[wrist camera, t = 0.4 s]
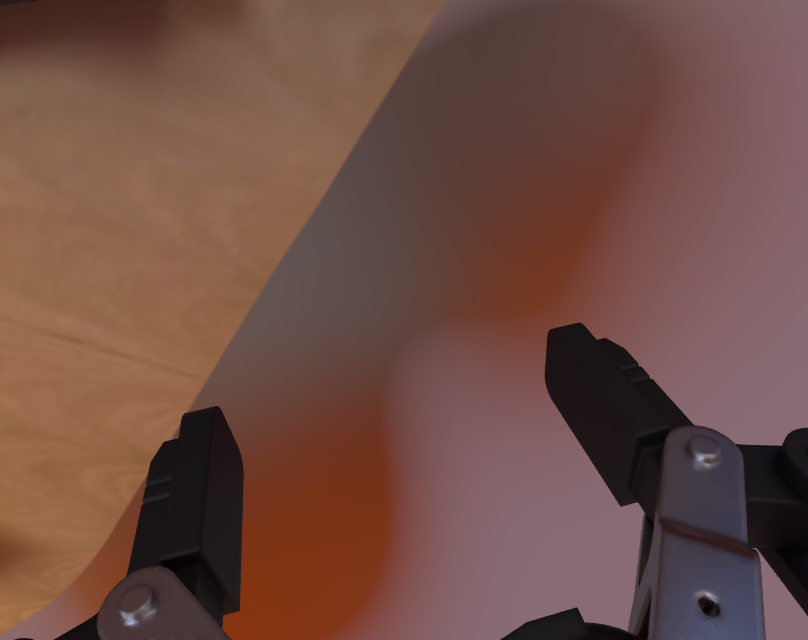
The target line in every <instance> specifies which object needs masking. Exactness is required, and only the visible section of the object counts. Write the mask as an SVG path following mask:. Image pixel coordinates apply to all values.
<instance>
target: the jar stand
mask: <svg viewBox="0 0 808 640" xmlns="http://www.w3.org/2000/svg"><path fill="white" fill-rule="evenodd" d="M28 1H35V0H0V5H6V4H13V3H21V2H28Z"/></svg>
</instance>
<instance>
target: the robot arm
mask: <svg viewBox="0 0 808 640" xmlns="http://www.w3.org/2000/svg"><path fill="white" fill-rule="evenodd" d="M545 382H546V387H547V390H548V393H549V395H550V397H551V399H552V401H553V402H554V404H555V405H556V407H557V409H558V410H559V412H560V413H561V415H562V416H563V418H564V419H565V421H566V423H567V424H568V426H569V427H570V429H571V430H572V432H573V433H574V435H575V437H576V438H577V439H578V441H579V443H580V444H581V446H582V447H583V449H584V450H585V452H586V454H587V455H588V456H589V458H590V460H591V461H592V463H593V464H594V466H595V468H596V469H597V471H598V472H599V474H600V475H601V477H602V478H603V480H604V482H605V483H606V484H607V486H608V488H609V489H610V491H611V492H612V494H613V495H614V497H615V499H616V500H617V502H618V503H619V505H620V506H621V507H622V506H625V505H629V504H632V503H636V502H638V503H639V505H640V506H641V507H642V509H643V511H644V512H645V513H644V517H643V522H642V531H641V540H640V549H639V558H638V567H637V576H636V585H635V593H634V601H633V605H632V610H631V615H630V620H629V626H628V632H627V631H625V630H622V629H620V628H616V627H612V626H608V625H604V624H597V623H585V622H584V620H583V618H582V616H581V614H580V612H579V610H578V608H573V609H570V610H566V611H563V612H559V613H556V614H553V615H550V616H546V617H543V618H539V619H536V620H533V621H529V622H526V623H525V624H523V625H522V626H521V627H519V628H517V629H516V630H514V631H513V632H511V633H510V634H508V635H507V636H505V637H504V638H502V639H501V640H766V634H765V619H764V605H763V590H762V576H761V564H760V558H759V554H758V552H757V551H756V550H755V549H752V548H757V549H758V550H759V552H760V553H761V554H762V556H763V557H764V558H765V560H766V561H767V562H768V564H769V565H770V566H771V568H772V569H773V570H774V572H775V573H776V574H777V576H778V577H779V578H780V579H781V581H782V582H783V584H784V585H785V586H786V588H787V589H788V590H789V592H790V593H791V594H792V596H793V597H794V598H795V600H796V601H797V602H798V604H799V605H800V606H801V608H802V609H803V610H804V612H805V613H806V614H807V616H808V428H800V429H797V430H794V431H792V432H791V433H789V434H788V435H787V437H786V438H785V441H784V442H783V444H782V446H767V445H740V444H734V442H733V441H731V440H730V439H729V438H728V437H726V436H725V435H723V434H722V433H720V432H718V431H716V430H713V429H710V428H707V427H703V426H697V425H694V424H693V423H692V422H691V421H690V420H689V419H688V418H687V417H686V416H685V415H684V414H683V412H682V411H681V410H680V409H679V408H678V407H677V406H676V405H675V403H674V402H673V401H672V400H671V399H670V398H669V397H668V396H667V395H666V394H665V392H664V391H663V390H662V389H661V388H660V387H659V386H658V385H657V384H656V382H655V381H654V380H653V379H650V378H649V375H648V374H647V373H646V371H645V370H644V369H643V368H642V367H639V365H638V363H637V361H636V360H635V359H634V358H633V357H632V356H631V355H630V354H629V353H628V352H627V350H626V349H624V348H623V347H621V346H619V345H617V344H616V343H614V342H612V341H610V340H608V339H607V338H603V339H599V340H596V338H595V337H594V336H593V335H592V334H591V333H590V332H589V330H588V329H587V328H586V327H585V326H584V325H583V324H582V323H575V324H571V325H567V326H562V327H558V328H554V329H550V330H549V332H548V336H547V349H546V363H545ZM243 479H244V472H243V462H242V457H241V454H240V450H239V448H238V445H237V443H236V441H235V439H234V437H233V434H232V432H231V430H230V428H229V426H228V424H227V421H226V419H225V417H224V415H223V412H222V410H221V409H220V408H219V407H218V406H215V407H210V408H206V409H202V410H198V411H193V412H189V413H185V414H184V415H183V416H182V420H181V426H180V432H179V438H178V439H174V440H170V441H165V442H164V443H163V444H162V446H161V447H160V449H159V450H158V452H157V453H156V455H155V456H154V458H153V459H152V461H151V463H150V468H149V472H148V477H147V482H146V484H147V487H146V488H145V492H144V497H143V505H142V506H141V511H140V515H139V520H138V525H137V530H136V534H135V540H134V545H133V549H132V554H131V558H130V563H129V568H128V571H127V575H126V577H125V578H124V579H123V580H121V581H120V582H119V583H118V584H117V585H116V586H115V587H114V588H113V589H112V591H110V593H109V594H108V595H107V597H106V598H105V600H104V602H103V604H102V606H101V608H100V611H99V612H98V613H97V614H96V615H95V616H93V617H92V618H90V619H89V620H87V621H85V622H84V623H82V624H80V625H78V626H77V627H75V628H73V629H72V630H70V631H68V632H66V633H65V634H63V635H61V636H60V637H58V638H56V639H54V640H231V638H230V637H229V636H228V635H227V634H226V633H225V632H224V630H223V629H222V625H223V615H226V614H230V613H234V612H237V611H240V585H241V549H242V515H243ZM15 640H33V639H29V638H19V639H15Z"/></svg>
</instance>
